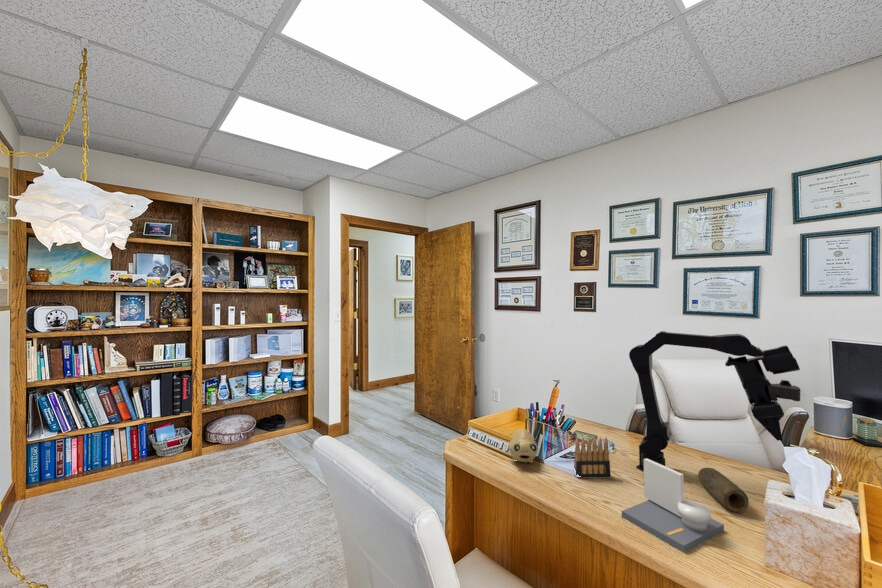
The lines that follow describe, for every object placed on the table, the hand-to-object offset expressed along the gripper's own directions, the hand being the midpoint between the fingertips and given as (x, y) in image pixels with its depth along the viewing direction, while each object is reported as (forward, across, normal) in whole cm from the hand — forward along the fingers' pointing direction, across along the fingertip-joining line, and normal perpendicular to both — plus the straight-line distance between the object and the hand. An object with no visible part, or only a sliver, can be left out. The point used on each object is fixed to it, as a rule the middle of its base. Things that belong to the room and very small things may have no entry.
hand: (777, 435), depth 101 cm
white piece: (+8, -27, +26) cm, 38 cm away
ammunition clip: (+3, -15, +48) cm, 50 cm away
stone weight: (+13, -9, +17) cm, 23 cm away
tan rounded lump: (-4, -18, +68) cm, 71 cm away
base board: (+9, -29, +27) cm, 41 cm away
